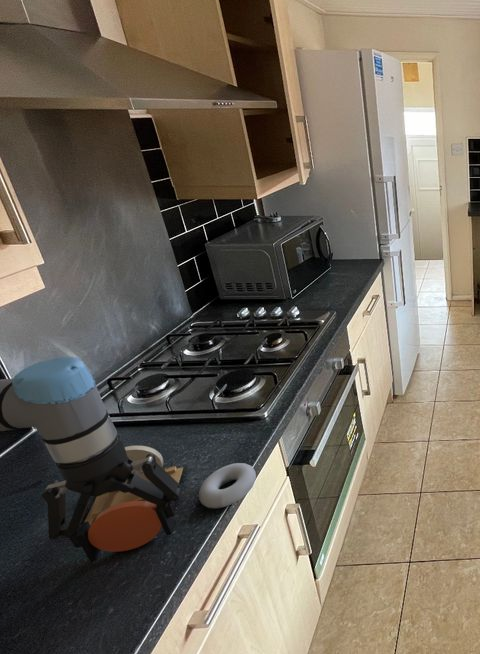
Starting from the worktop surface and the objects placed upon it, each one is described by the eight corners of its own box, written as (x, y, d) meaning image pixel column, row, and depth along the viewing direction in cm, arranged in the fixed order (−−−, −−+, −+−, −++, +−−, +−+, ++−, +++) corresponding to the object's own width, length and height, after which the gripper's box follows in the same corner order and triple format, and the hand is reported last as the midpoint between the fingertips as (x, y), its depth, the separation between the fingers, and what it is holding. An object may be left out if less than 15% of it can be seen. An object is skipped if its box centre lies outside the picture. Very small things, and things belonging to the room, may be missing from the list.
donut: (252, 463, 93) (198, 487, 87) (249, 452, 92) (194, 475, 86) (262, 493, 86) (203, 521, 80) (258, 481, 85) (199, 509, 79)
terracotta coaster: (100, 560, 73) (77, 521, 69) (102, 554, 74) (80, 515, 70) (169, 536, 77) (151, 497, 74) (171, 530, 78) (153, 492, 75)
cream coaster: (107, 497, 84) (89, 459, 80) (109, 492, 85) (91, 455, 81) (168, 479, 88) (153, 443, 85) (169, 475, 89) (155, 439, 86)
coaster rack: (80, 534, 77) (76, 528, 77) (100, 493, 86) (97, 486, 85) (172, 505, 83) (169, 499, 83) (183, 468, 92) (180, 462, 91)
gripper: (178, 411, 75) (212, 500, 83) (3, 455, 66) (61, 549, 74) (168, 439, 68) (205, 532, 77) (-27, 492, 59) (39, 591, 68)
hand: (134, 541), depth 75 cm, fingers closed on terracotta coaster, 10 cm apart
